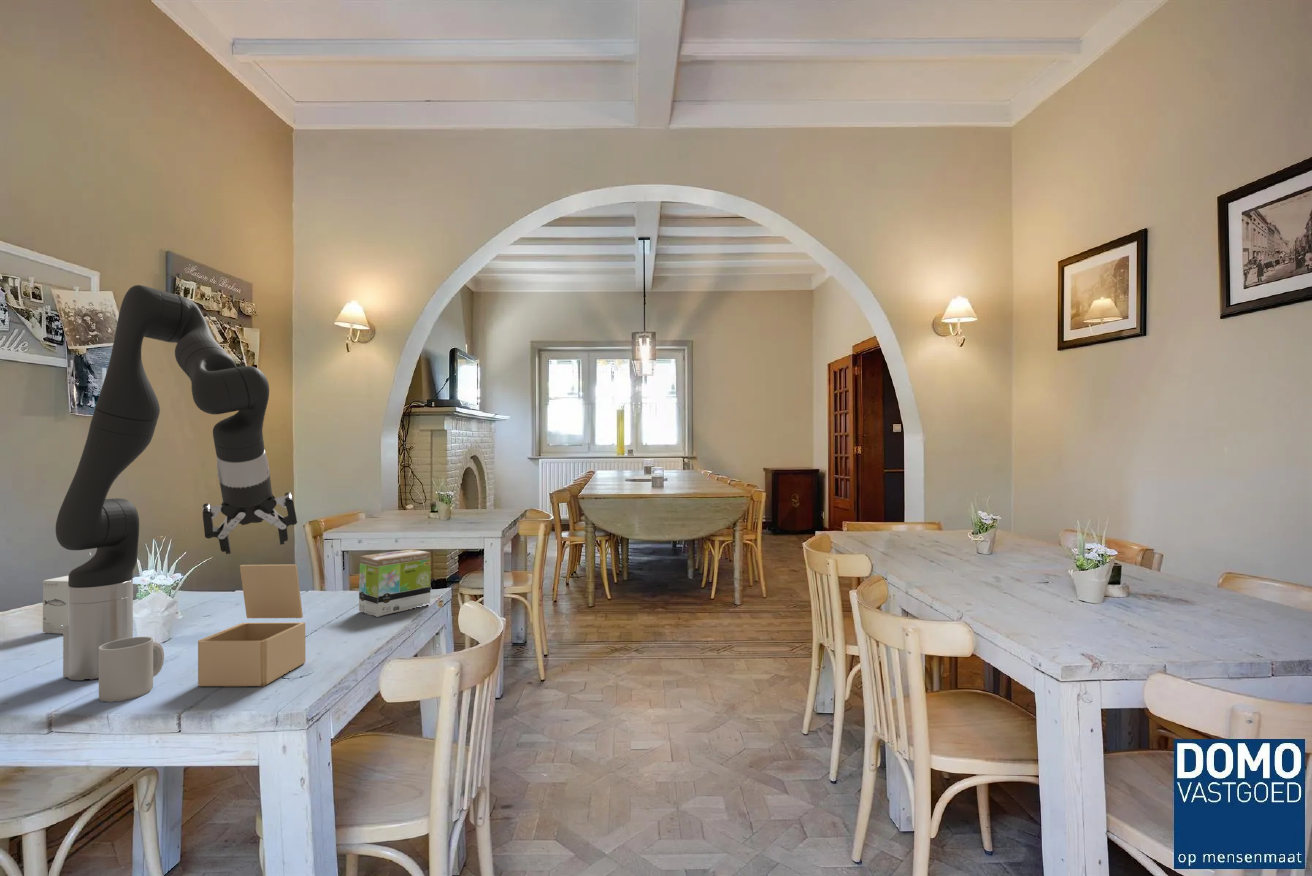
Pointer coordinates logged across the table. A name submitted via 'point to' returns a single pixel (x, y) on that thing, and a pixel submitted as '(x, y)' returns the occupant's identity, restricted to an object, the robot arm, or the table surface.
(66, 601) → the supplement box
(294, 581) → the flap
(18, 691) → the table surface
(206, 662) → the carton
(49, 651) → the table surface
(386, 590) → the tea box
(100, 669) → the cup
